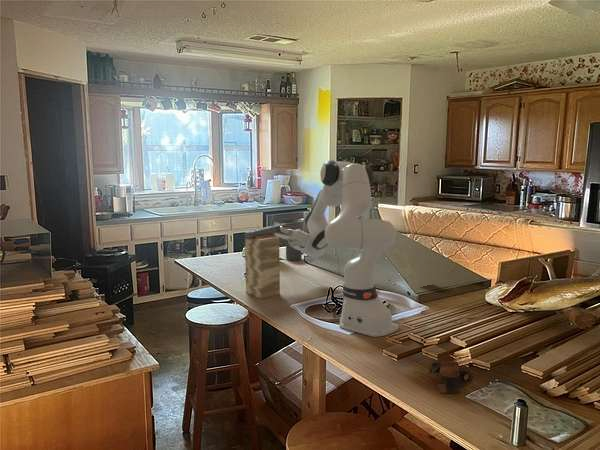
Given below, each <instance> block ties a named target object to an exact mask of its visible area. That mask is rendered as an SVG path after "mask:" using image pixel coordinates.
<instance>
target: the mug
mask: <svg viewBox="0 0 600 450" xmlns="http://www.w3.org/2000/svg"><path fill="white" fill-rule="evenodd" d="M302 255H305V254H304V253H302V252H301V251H299V250H297V249H295V248H293V247H291V246H290V245H289V243H288V240H287V239H285V259H286V260H287V261H291V262H292V261H293V262H296V261H301V260H302V257H303V256H302Z"/></svg>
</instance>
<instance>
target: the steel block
mask: <svg viewBox="0 0 600 450" xmlns="http://www.w3.org/2000/svg"><path fill="white" fill-rule="evenodd" d="M279 227H283V228H286V229H288V224H287V223H283V222H282V223H278V224H274V225H269V226H265V227H261V228H256V229H251V230H248V231H243V232H244V240H245V239H247V240H251V239H255V236H260V235H267V234H275V233H279V232H282V231H280V230H278V228H279Z"/></svg>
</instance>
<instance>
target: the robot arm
mask: <svg viewBox="0 0 600 450" xmlns="http://www.w3.org/2000/svg"><path fill="white" fill-rule="evenodd" d="M320 181H321V182H322V184H323V187H322V189H321V190H320V191H319V192H318V194H317V196H316V199H315V201H314V204H313V206H312V208H311V211H310V212H309V213H308V214H307V216H306V217H305V220H304V224H305V226H306V229H308V232H309V233H307V232H305V231H303V230H301V229H299V228H297V229H292V228H287V229H286V228H283V227H279V228H278V230H280V231H282V232H279V233H275V236H277V237H279V239H280V238H281V239H284V240H286V239H287V240H288V243H289V245H290V246H291V247H293V248H295V249H297V250H299V251H301V252H302V253H304V254H303V255H306V256H308V257H310V258H316V259H317V258H320V257H322V256H323V255H324V253H325V251H326V247H327V246H329V248H333V249H338V250H360V252H359V254H358V255H356V256H355V257H353V258H351V259H349V260H348V261H347V262H346V263H345V265H344V273H343V274H344V275H343V276H344V279H343V280H344V282H343V283H344V284H342V285H343V286H342V295H343V300H342V306H341V307H342V308H341V314H340V318H339V320H338V321H339V328H341V329H344V330H348V331H351V332H355V333H359V334H363V335H365V336H369V337H373V338H376V337H383V336H384V337H385V336H387V335H390V334H393V333H395V332H397V331H398V329H399V324H397V323H395V322H393V316H392V312H391V310H390V309H389V307H387V306H386V304H385V303H384V302H383V301H382V300H381V299H380V298H379V295H378V294H380V293H381V292H380V291H381V290H380V289H379V290H377V288H376V285H375V274H376V268H377V267H376V266H377V263H378V261H379V259H380V257H381V256H382V255H383V253H384V252H386V250H388V249H389V248H390V247H392V245H393V244H394V242H395V239H396V237H397V236H396V235H397V234H396V233H397V232H396V229H395V228H396V227H394V225H393V223H392V222H391V221H388V220H385V219H378V218H377V219H376V218H372V219H371V218H369V219H362V218H359V217H362V216H363V215H366V214H367V213H368V212H369V211H370V209H372V206H373V205H372V204H373V202H372V192H371V187H372V185H373V181H374V171H373V169H372V167H370V166H367V165H365V164H360V163H355V162H349V161H340V160H338V161H337V160H336V161H335V160H326V161H325V162H323V164H322V166H321V168H320ZM339 206H341V209H340V211H339V213H338V215H337V216H336V217H335V218H334V219H332V220H331V221H329V223H328V221H327V219H326V216H325V213H326V210H327V208H328V207H331V208H332V207H333V208H334V207H336V208H337V207H339Z"/></svg>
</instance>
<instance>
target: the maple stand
mask: <svg viewBox="0 0 600 450" xmlns="http://www.w3.org/2000/svg"><path fill="white" fill-rule="evenodd" d="M244 251H245V254H244V255H245V258H244V259H245V261H244V262H245V294H249V295H252V296H253V297H256V298H258V299H261V300H262V299H268V298H272V297H276V296H279V295H281V283H280V281H281V279H280V277H281V275H280V273H281V271H280V269H281V268H280V260H281V259H280V237H278V236H276V235H275V234H267V235H260V236H255V239H251V240H247V239H245V238H244Z"/></svg>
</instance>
